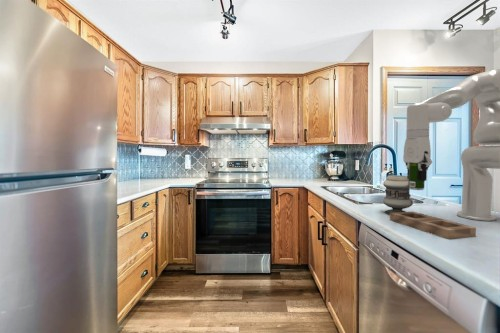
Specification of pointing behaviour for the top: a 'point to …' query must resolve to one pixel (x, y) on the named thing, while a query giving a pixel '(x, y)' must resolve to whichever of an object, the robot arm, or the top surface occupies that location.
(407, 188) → the apothecary jar
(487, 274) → the top surface
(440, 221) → the can rack
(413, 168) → the beer can
